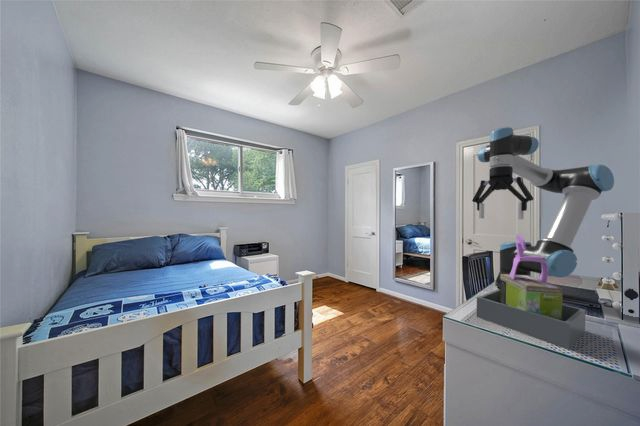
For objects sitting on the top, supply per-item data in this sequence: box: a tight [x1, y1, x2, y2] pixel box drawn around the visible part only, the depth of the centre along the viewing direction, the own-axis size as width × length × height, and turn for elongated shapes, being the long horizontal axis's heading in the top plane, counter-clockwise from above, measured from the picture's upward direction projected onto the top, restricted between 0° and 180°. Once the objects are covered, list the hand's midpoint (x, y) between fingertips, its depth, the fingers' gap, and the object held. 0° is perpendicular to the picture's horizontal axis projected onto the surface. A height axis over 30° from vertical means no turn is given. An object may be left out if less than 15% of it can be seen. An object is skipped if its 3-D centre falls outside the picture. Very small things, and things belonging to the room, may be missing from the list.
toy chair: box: [510, 233, 549, 283], centre depth 79 cm, size 8×9×15 cm
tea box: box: [500, 274, 563, 320], centre depth 78 cm, size 15×10×15 cm, turn 168°
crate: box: [476, 288, 586, 350], centre depth 78 cm, size 18×23×7 cm
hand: (500, 218), depth 96 cm, fingers open, 13 cm apart
